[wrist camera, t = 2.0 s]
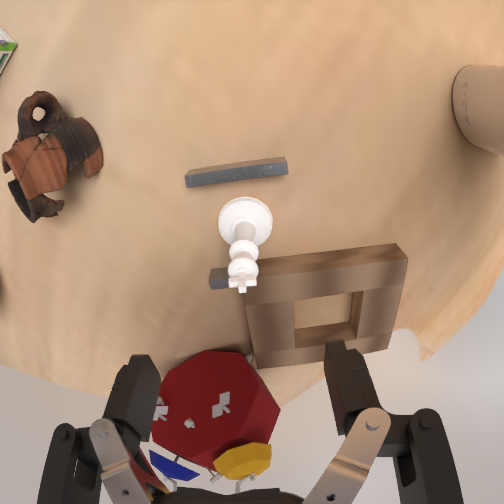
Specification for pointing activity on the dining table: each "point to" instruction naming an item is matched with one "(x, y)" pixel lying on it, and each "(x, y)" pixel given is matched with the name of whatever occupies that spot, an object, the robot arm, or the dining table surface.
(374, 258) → the block
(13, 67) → the dining table surface
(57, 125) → the pottery mug
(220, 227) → the chess piece
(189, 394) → the alarm clock
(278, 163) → the stand rails
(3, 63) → the syrup box
